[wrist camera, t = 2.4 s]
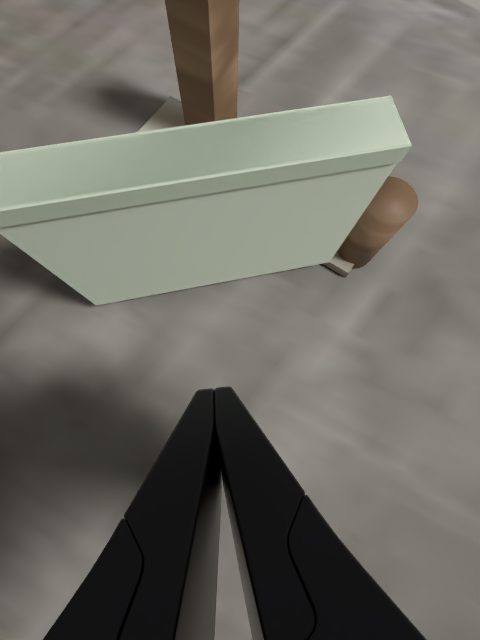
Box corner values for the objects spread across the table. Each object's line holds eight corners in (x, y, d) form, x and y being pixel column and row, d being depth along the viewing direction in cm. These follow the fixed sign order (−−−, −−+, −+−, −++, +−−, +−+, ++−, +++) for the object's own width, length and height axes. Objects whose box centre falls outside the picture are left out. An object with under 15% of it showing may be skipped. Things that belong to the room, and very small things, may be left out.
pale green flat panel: (320, 232, 19) (391, 95, 10) (329, 263, 18) (411, 145, 10) (92, 272, 18) (-29, 156, 9) (96, 307, 17) (-29, 215, 9)
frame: (355, 283, 19) (461, 179, 10) (130, 150, 21) (58, -32, 12) (396, 215, 20) (520, 71, 12) (179, 95, 22) (147, -104, 14)
